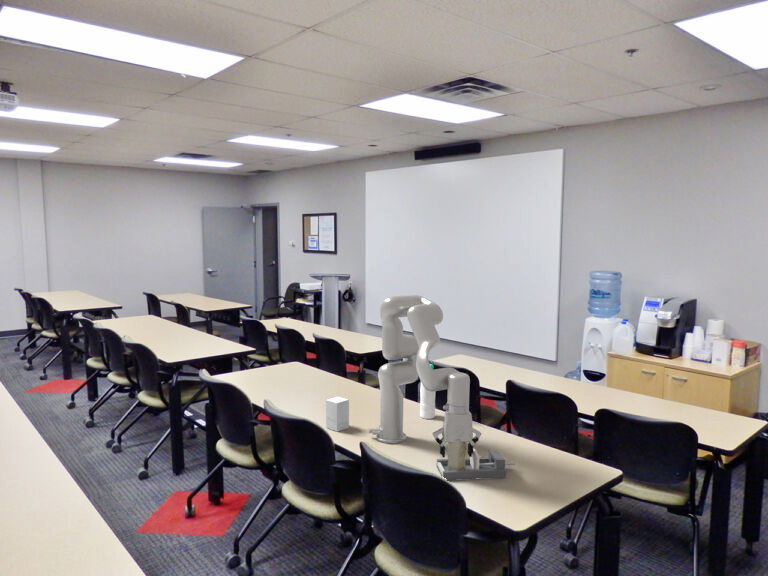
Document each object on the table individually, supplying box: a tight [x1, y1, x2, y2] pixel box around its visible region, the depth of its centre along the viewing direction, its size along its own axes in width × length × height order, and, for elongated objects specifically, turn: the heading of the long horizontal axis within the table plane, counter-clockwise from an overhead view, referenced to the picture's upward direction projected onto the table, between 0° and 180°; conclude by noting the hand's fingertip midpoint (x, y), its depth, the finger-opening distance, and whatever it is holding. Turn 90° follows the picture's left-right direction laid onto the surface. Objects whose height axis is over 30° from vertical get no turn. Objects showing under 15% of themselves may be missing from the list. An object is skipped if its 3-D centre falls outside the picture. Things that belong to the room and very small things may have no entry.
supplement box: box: [325, 396, 350, 432], centre depth 224 cm, size 7×7×13 cm
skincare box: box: [447, 439, 467, 471], centre depth 181 cm, size 6×4×12 cm
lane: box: [436, 449, 507, 481], centre depth 182 cm, size 22×11×6 cm, turn 96°
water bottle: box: [419, 363, 436, 420], centre depth 239 cm, size 7×7×25 cm
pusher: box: [469, 447, 516, 470], centre depth 182 cm, size 15×8×6 cm, turn 96°
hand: (456, 455), depth 181 cm, fingers open, 9 cm apart
